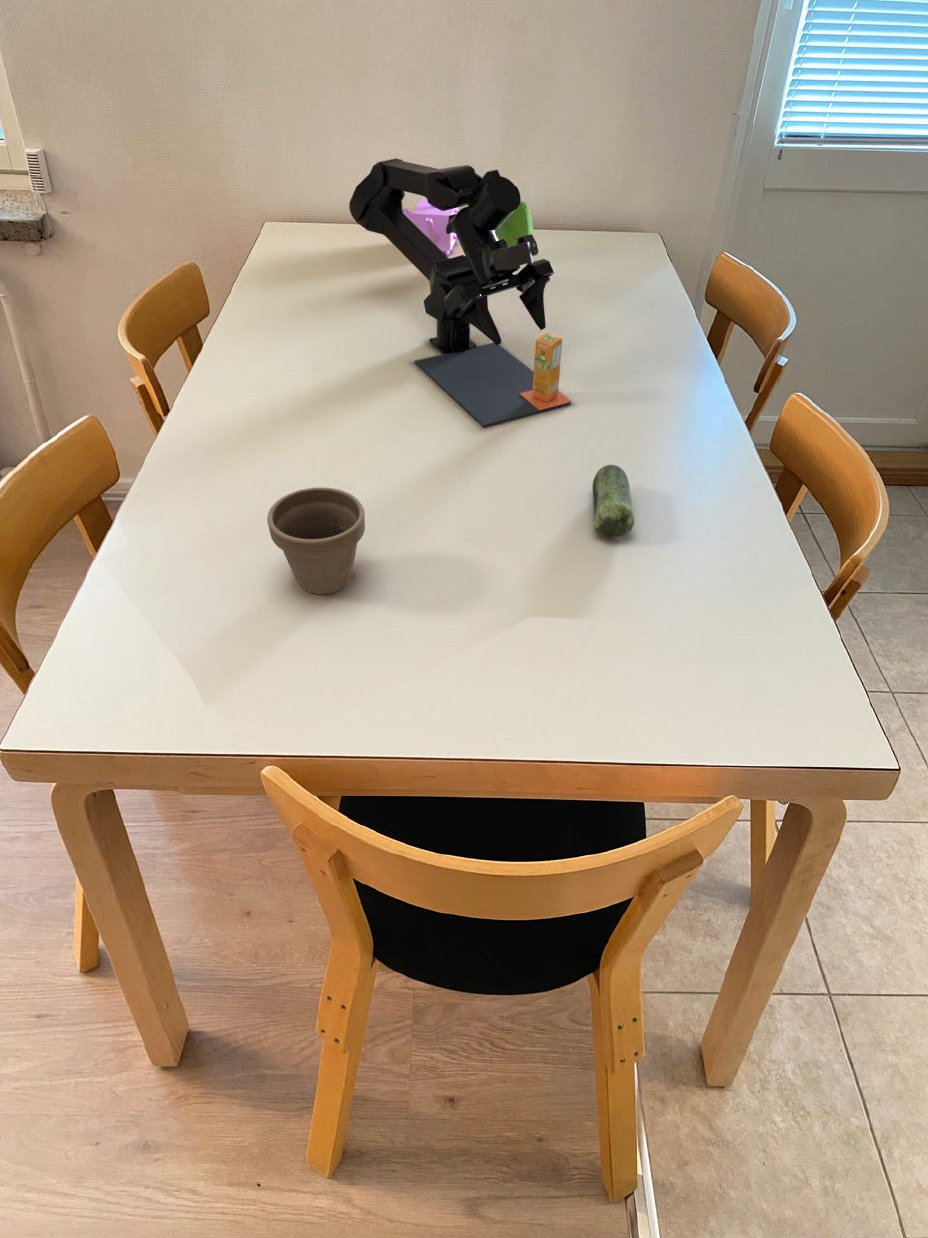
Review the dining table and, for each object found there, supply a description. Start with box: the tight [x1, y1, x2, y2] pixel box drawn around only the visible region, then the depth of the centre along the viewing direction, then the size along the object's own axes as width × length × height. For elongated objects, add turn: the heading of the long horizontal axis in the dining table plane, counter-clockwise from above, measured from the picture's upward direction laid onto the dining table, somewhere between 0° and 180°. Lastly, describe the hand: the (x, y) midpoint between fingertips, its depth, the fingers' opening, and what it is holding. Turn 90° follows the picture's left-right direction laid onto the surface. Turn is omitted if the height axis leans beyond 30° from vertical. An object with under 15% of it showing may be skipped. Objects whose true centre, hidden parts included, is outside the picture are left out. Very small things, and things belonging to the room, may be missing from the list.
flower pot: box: [266, 486, 366, 595], centre depth 117 cm, size 12×11×10 cm
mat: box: [414, 342, 572, 428], centre depth 159 cm, size 24×16×1 cm, turn 29°
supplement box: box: [532, 332, 563, 402], centre depth 152 cm, size 3×3×10 cm
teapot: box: [403, 197, 461, 255], centre depth 201 cm, size 18×13×10 cm
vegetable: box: [592, 464, 635, 539], centre depth 130 cm, size 14×5×5 cm, turn 176°
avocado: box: [494, 199, 534, 246], centre depth 196 cm, size 8×8×12 cm
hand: (521, 336), depth 153 cm, fingers open, 9 cm apart
